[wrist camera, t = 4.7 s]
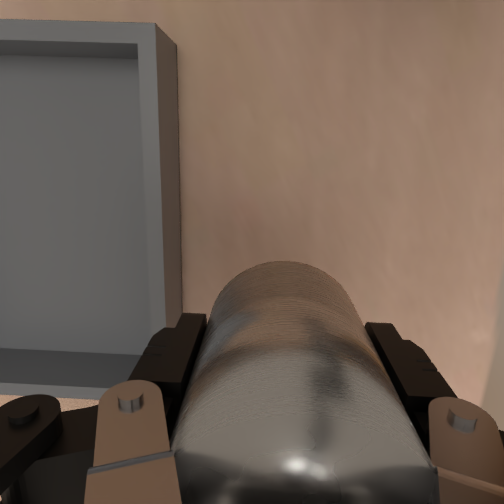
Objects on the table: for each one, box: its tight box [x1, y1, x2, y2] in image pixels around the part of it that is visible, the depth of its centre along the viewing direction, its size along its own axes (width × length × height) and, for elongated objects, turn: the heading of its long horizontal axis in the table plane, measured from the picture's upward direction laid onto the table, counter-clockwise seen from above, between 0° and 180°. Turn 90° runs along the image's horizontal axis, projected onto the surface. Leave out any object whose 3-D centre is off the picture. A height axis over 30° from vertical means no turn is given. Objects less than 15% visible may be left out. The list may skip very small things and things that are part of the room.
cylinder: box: [169, 261, 436, 504], centre depth 10 cm, size 5×5×7 cm
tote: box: [0, 19, 182, 400], centre depth 26 cm, size 24×18×5 cm
